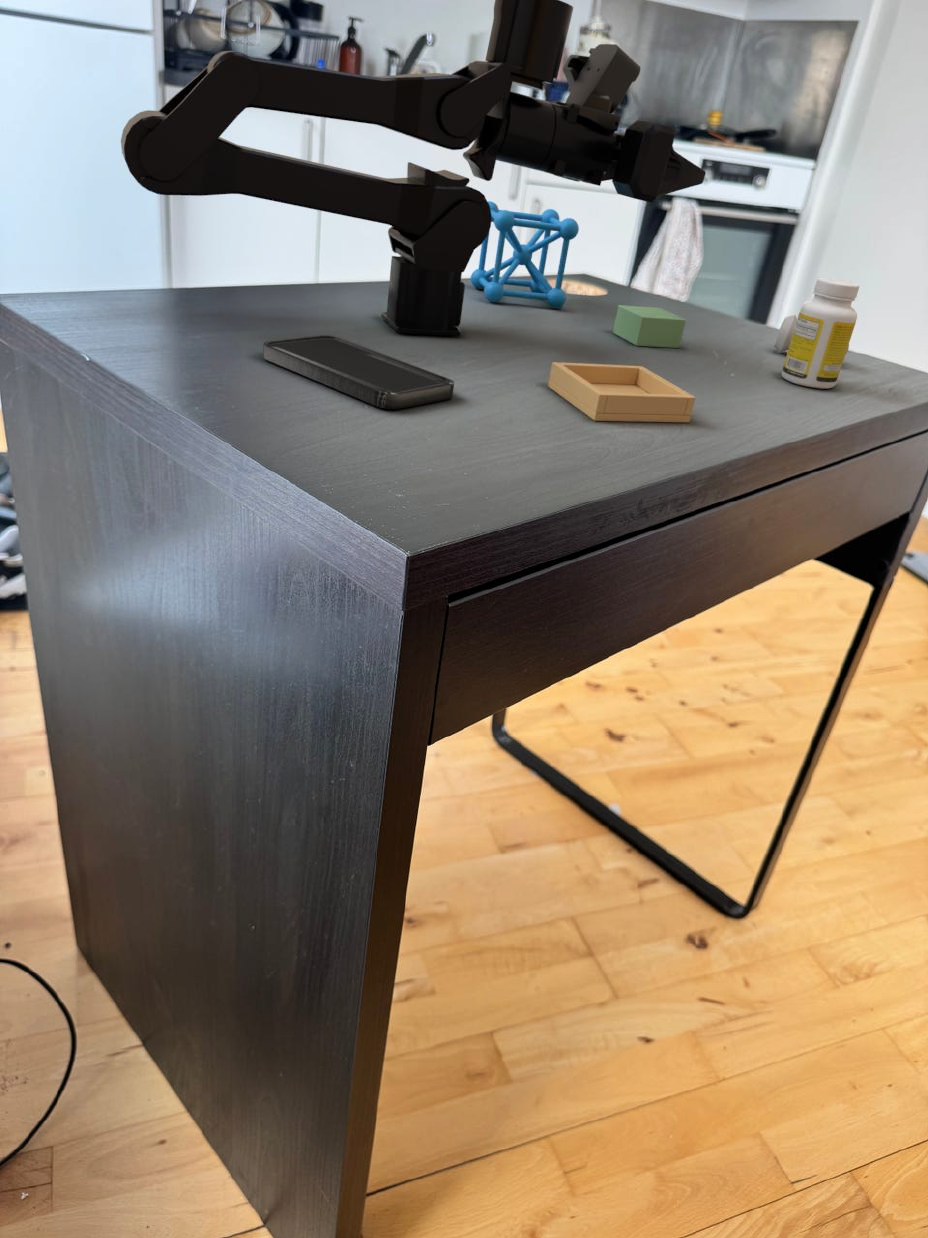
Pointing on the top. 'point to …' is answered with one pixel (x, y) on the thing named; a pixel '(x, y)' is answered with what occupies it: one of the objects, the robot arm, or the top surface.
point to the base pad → (620, 393)
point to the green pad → (649, 326)
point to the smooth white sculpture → (787, 334)
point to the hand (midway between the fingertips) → (678, 171)
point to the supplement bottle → (822, 335)
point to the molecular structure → (525, 256)
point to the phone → (359, 371)
